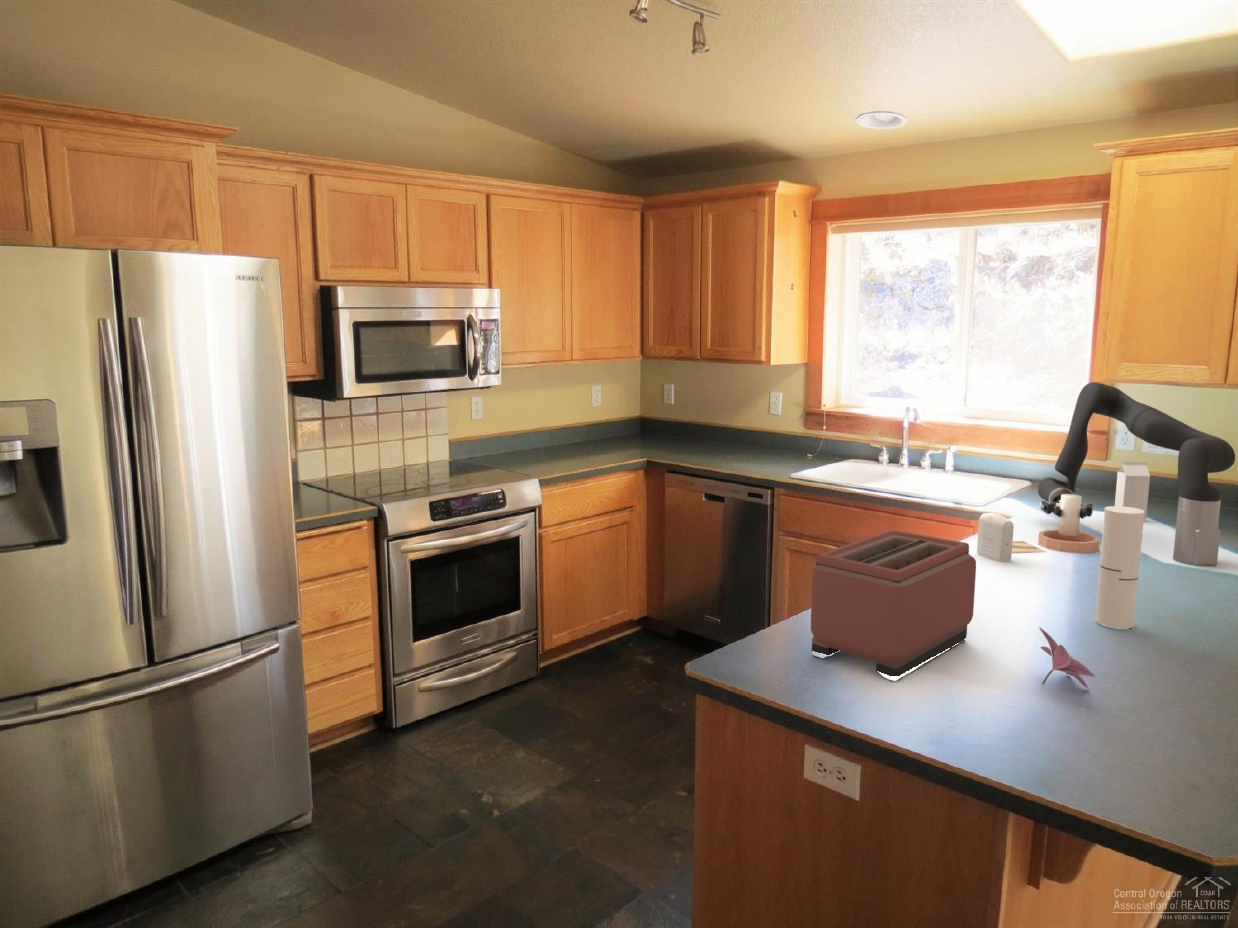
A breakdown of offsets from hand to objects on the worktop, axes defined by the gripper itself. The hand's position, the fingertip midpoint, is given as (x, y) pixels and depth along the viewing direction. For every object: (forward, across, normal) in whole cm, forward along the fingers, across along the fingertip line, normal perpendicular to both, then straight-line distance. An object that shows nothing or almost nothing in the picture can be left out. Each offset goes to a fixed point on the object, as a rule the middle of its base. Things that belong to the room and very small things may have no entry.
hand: (1071, 514), depth 239 cm
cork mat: (+5, -14, +10) cm, 18 cm away
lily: (+103, -14, +9) cm, 105 cm away
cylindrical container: (+65, +1, +9) cm, 65 cm away
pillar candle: (-3, 0, +6) cm, 7 cm away
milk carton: (-46, +24, +11) cm, 53 cm away
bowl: (-2, 0, +10) cm, 10 cm away
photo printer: (+17, -20, +10) cm, 29 cm away
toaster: (+93, -43, +9) cm, 102 cm away
